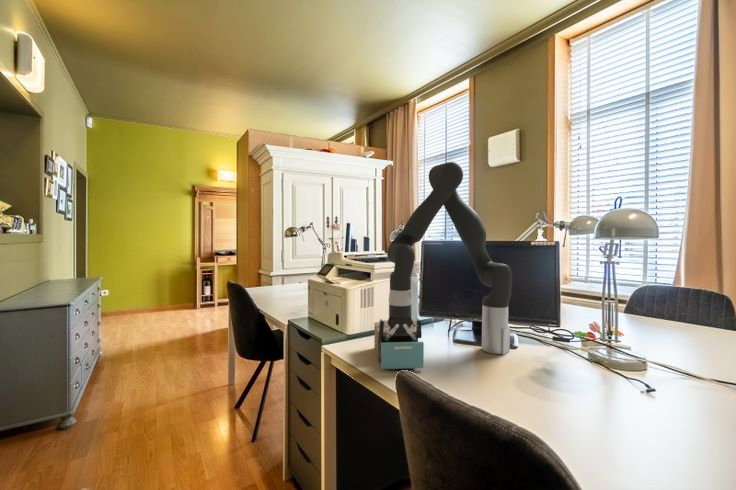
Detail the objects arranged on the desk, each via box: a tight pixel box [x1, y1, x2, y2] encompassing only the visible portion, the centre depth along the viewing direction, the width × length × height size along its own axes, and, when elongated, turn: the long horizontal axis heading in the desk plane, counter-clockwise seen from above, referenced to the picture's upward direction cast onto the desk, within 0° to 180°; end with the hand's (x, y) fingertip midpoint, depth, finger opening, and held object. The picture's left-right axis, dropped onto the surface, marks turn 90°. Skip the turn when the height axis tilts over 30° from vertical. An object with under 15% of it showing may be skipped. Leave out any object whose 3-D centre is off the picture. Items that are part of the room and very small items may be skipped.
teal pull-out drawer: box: [380, 341, 425, 370], centre depth 122 cm, size 14×14×8 cm
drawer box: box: [373, 322, 419, 362], centre depth 132 cm, size 14×14×10 cm
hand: (399, 350), depth 121 cm, fingers open, 8 cm apart
